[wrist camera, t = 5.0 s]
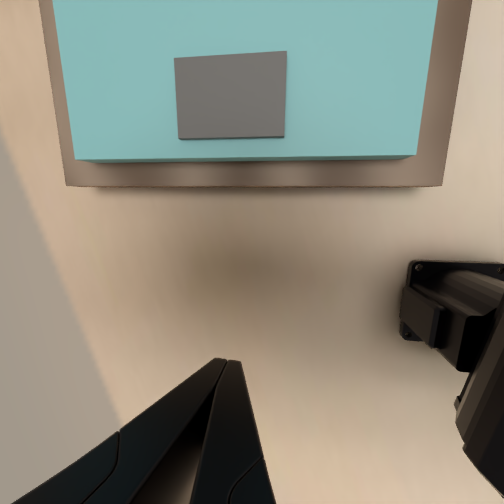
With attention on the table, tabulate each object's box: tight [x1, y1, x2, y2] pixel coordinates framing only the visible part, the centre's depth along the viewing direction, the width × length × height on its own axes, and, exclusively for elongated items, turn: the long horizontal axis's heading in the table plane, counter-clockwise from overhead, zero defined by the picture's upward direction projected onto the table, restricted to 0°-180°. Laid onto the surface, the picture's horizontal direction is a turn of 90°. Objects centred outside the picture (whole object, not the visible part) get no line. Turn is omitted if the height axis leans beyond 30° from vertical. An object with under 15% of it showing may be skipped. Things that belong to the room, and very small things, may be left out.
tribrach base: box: [39, 0, 472, 187], centre depth 15 cm, size 25×20×4 cm
